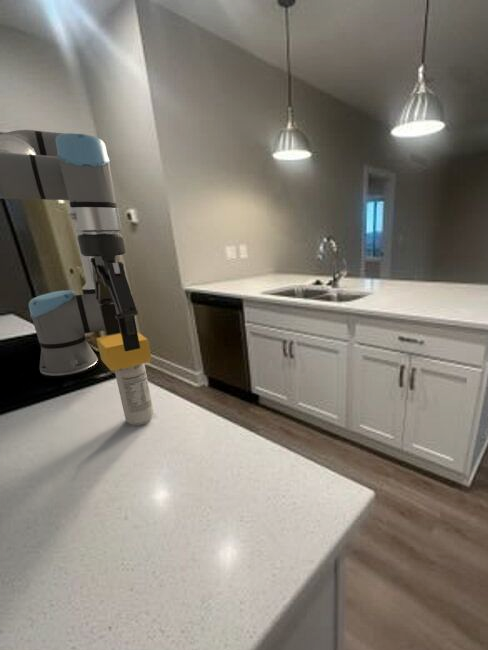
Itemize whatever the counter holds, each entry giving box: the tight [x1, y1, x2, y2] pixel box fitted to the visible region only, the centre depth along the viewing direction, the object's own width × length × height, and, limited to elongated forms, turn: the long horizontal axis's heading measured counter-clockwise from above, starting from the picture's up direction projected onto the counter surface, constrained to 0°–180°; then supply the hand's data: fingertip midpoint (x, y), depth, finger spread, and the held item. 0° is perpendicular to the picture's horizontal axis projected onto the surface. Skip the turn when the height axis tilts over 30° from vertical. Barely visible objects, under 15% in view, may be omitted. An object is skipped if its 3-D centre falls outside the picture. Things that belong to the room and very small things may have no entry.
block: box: [96, 331, 153, 372], centre depth 73 cm, size 8×8×5 cm
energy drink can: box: [114, 363, 155, 426], centre depth 77 cm, size 6×6×15 cm
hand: (122, 341), depth 72 cm, fingers open, 13 cm apart
